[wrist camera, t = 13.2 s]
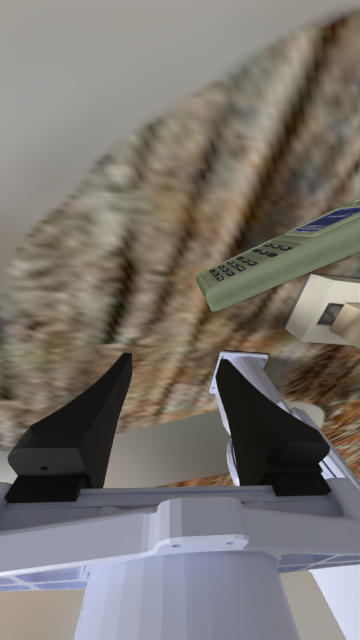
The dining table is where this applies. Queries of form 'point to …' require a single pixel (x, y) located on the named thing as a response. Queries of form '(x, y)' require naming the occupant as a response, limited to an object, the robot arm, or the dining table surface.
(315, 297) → the white hollow rectangular frame
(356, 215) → the handheld radio
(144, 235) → the dining table surface
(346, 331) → the keyhole peg
